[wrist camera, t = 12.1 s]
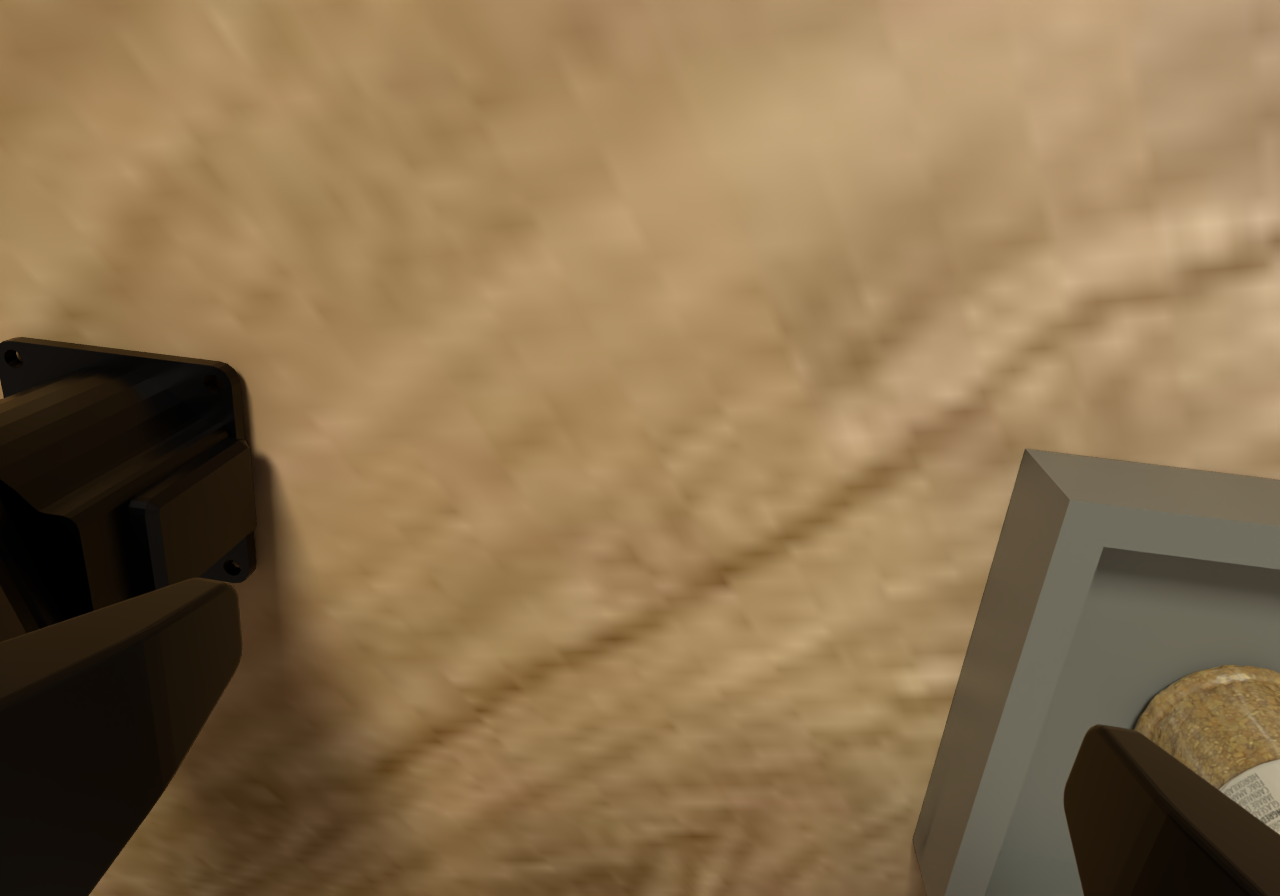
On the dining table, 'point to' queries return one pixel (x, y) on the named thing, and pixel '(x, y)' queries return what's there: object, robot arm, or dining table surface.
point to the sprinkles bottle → (1224, 733)
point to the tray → (1088, 649)
